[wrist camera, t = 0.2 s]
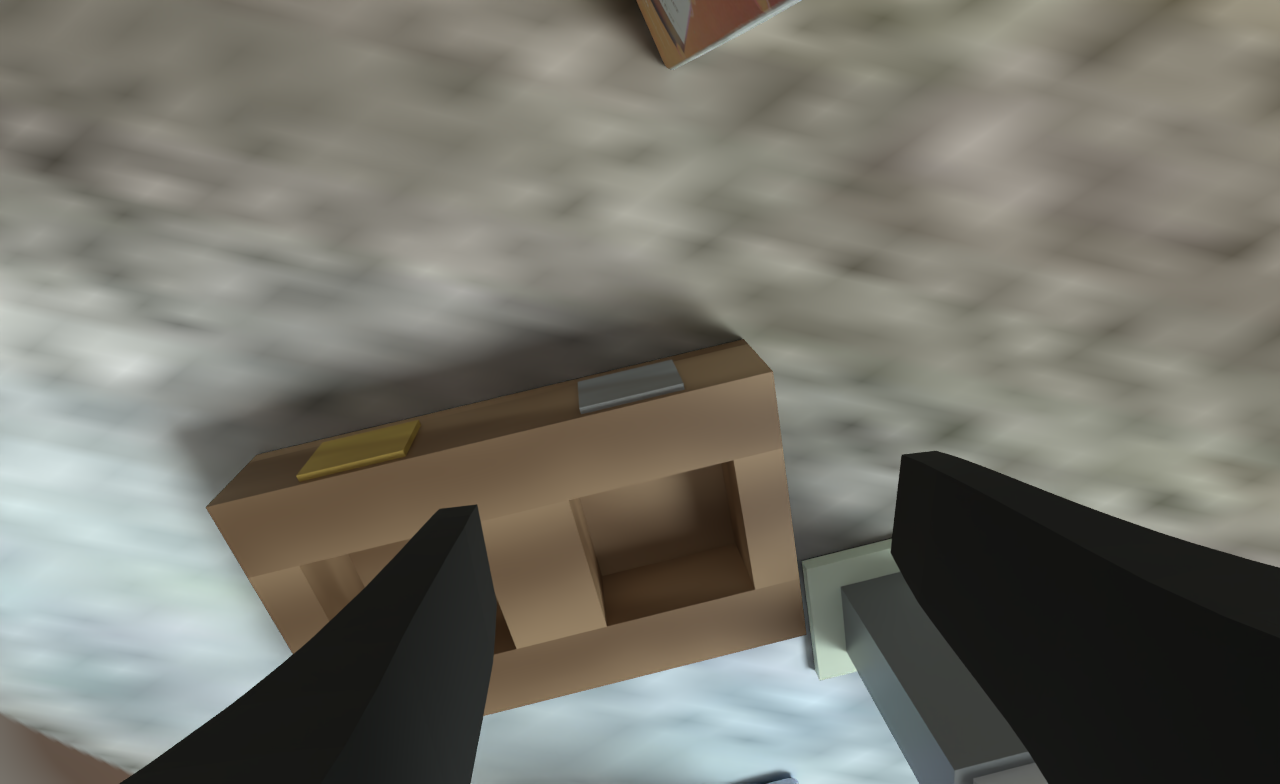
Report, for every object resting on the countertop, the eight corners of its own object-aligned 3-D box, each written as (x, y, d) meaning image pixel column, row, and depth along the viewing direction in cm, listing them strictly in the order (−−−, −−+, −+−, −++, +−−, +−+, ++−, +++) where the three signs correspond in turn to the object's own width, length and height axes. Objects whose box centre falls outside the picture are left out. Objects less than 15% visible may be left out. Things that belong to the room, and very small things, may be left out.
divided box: (778, 577, 24) (806, 634, 21) (375, 677, 23) (349, 749, 21) (742, 333, 20) (771, 364, 17) (253, 449, 19) (202, 501, 16)
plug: (928, 631, 25) (1081, 837, 18) (846, 651, 25) (966, 868, 18) (926, 564, 24) (1093, 759, 16) (840, 586, 24) (967, 791, 16)
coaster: (950, 637, 26) (956, 646, 26) (815, 671, 26) (819, 680, 25) (950, 524, 24) (957, 531, 23) (801, 561, 24) (806, 569, 23)
